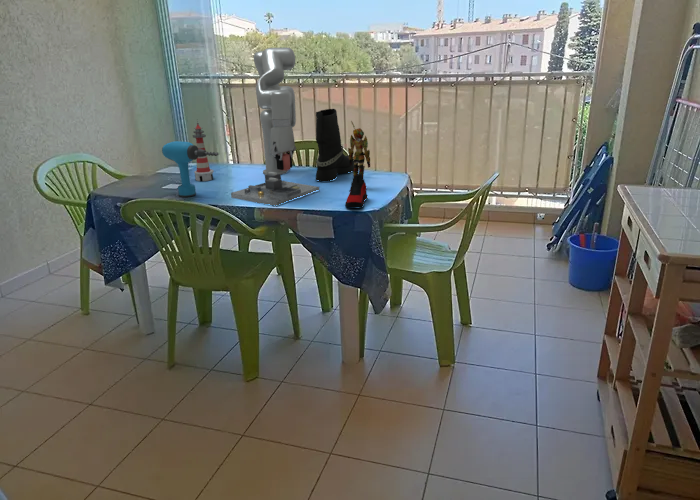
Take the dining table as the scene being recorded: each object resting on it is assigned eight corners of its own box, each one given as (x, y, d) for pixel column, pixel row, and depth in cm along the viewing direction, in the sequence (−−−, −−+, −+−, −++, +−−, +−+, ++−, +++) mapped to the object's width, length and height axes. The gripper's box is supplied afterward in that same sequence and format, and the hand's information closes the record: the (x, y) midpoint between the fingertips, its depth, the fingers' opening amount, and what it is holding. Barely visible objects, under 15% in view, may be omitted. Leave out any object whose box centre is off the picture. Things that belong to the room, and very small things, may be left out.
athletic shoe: (342, 211, 198) (341, 181, 193) (351, 197, 216) (350, 169, 212) (361, 212, 196) (361, 181, 192) (368, 197, 215) (368, 169, 211)
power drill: (229, 196, 220) (223, 142, 212) (216, 201, 213) (210, 145, 204) (176, 191, 230) (169, 139, 222) (163, 196, 223) (155, 142, 214)
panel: (276, 183, 240) (275, 176, 239) (319, 191, 226) (319, 183, 225) (231, 197, 219) (230, 189, 218) (275, 206, 205) (275, 198, 203)
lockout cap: (292, 168, 212) (291, 153, 210) (285, 171, 209) (284, 154, 206) (284, 167, 215) (283, 152, 212) (277, 169, 211) (275, 153, 209)
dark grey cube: (273, 182, 234) (272, 170, 233) (281, 183, 232) (280, 172, 230) (265, 184, 231) (264, 173, 229) (273, 185, 228) (272, 174, 226)
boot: (360, 170, 267) (362, 105, 255) (329, 185, 238) (330, 112, 225) (339, 167, 272) (340, 103, 260) (306, 181, 242) (306, 110, 230)
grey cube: (273, 188, 224) (273, 176, 222) (282, 189, 221) (281, 177, 219) (265, 190, 220) (264, 178, 218) (274, 192, 218) (273, 180, 216)
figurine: (373, 188, 229) (373, 119, 218) (366, 192, 223) (366, 122, 212) (352, 185, 234) (351, 118, 223) (345, 189, 228) (343, 120, 217)
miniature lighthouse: (217, 177, 255) (210, 115, 244) (210, 181, 246) (203, 118, 235) (199, 177, 256) (191, 115, 245) (192, 181, 247) (183, 118, 236)
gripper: (289, 120, 214) (291, 163, 220) (260, 125, 201) (263, 171, 207) (302, 121, 209) (304, 165, 216) (274, 126, 197) (277, 173, 203)
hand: (284, 167), depth 212 cm, fingers closed on lockout cap, 4 cm apart
